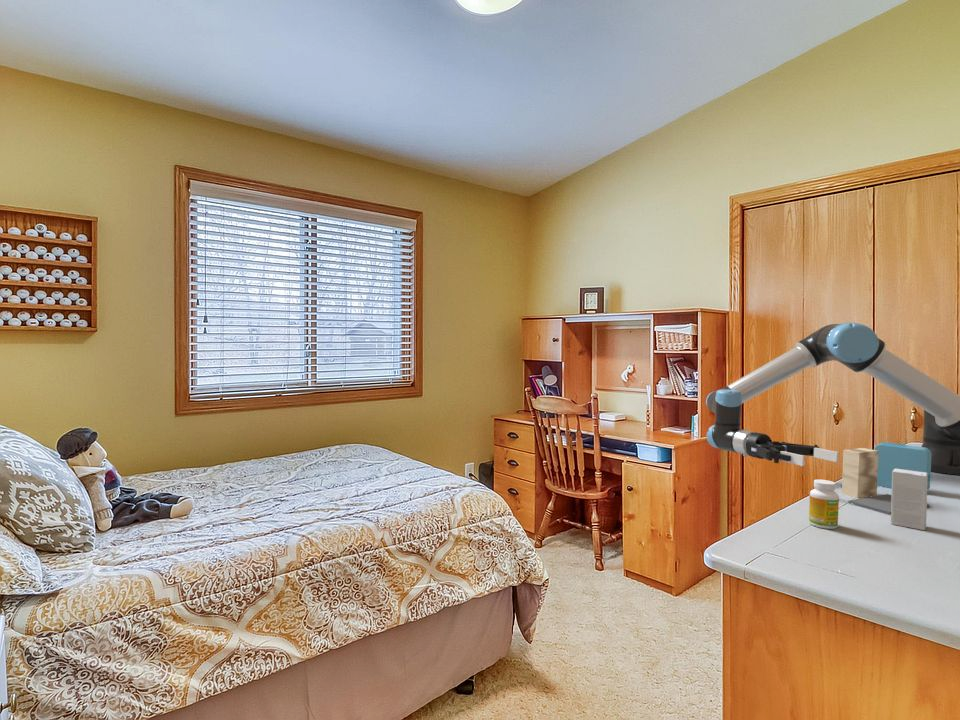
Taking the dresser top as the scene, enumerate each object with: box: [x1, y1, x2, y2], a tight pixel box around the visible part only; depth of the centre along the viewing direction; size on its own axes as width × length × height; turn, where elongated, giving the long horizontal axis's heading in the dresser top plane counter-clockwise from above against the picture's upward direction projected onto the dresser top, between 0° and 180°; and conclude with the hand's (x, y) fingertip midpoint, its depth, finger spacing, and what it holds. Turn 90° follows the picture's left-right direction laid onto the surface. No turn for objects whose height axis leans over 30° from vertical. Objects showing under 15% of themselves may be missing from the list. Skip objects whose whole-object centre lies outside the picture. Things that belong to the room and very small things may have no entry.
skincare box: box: [890, 469, 928, 531], centre depth 119 cm, size 6×4×12 cm
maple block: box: [841, 447, 879, 499], centre depth 142 cm, size 8×4×12 cm, turn 113°
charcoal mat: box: [847, 493, 930, 516], centre depth 134 cm, size 16×10×1 cm, turn 113°
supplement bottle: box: [808, 479, 840, 530], centre depth 119 cm, size 5×5×10 cm
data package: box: [873, 442, 932, 491], centre depth 149 cm, size 12×4×12 cm, turn 42°
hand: (821, 459), depth 145 cm, fingers open, 13 cm apart
